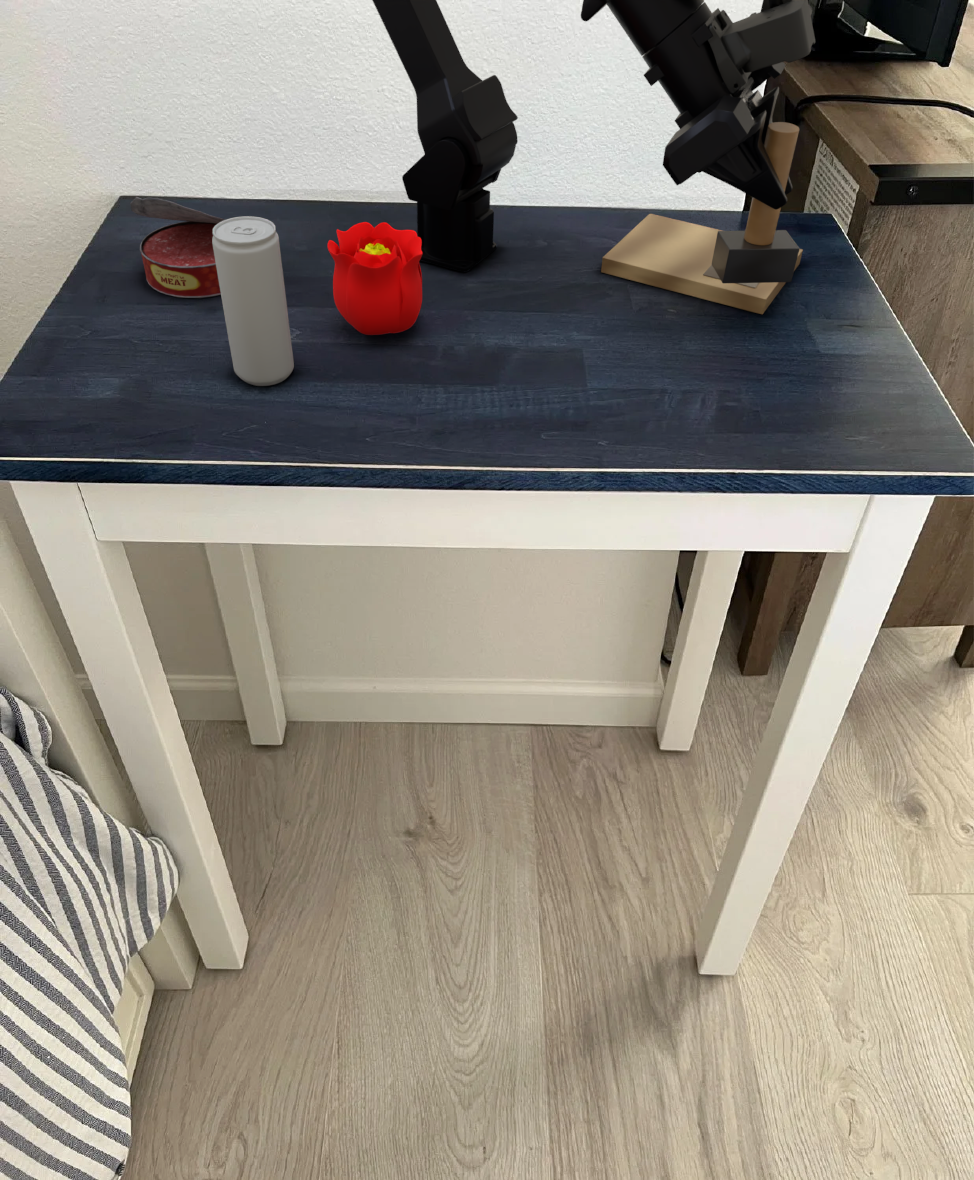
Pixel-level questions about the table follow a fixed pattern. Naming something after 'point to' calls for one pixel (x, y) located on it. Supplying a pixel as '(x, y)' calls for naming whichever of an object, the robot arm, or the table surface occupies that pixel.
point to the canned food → (179, 250)
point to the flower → (377, 277)
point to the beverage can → (254, 299)
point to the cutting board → (683, 264)
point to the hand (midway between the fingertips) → (784, 199)
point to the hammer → (761, 227)
